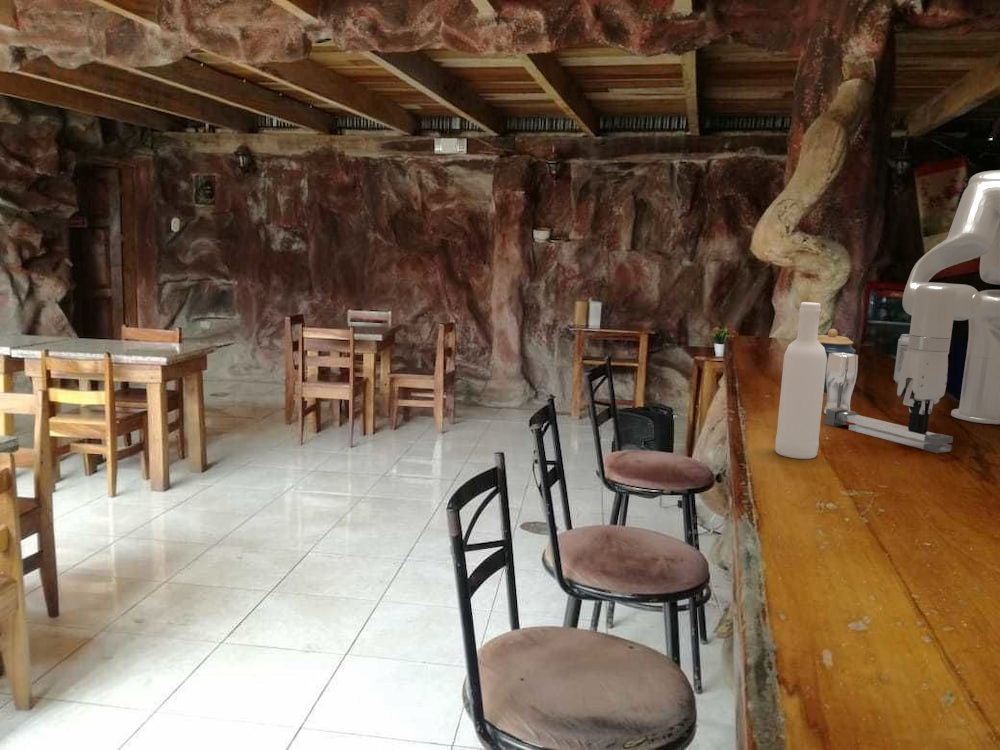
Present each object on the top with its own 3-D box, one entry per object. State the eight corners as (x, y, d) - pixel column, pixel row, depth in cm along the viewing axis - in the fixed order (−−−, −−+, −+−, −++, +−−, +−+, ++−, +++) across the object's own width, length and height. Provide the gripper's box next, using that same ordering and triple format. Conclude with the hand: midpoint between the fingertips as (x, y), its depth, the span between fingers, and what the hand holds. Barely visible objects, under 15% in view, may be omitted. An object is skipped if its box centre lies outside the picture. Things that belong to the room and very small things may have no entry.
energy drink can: (915, 383, 237) (921, 335, 235) (914, 386, 232) (920, 336, 230) (894, 380, 240) (899, 333, 238) (892, 383, 235) (898, 335, 233)
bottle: (790, 460, 148) (806, 304, 142) (766, 449, 155) (780, 301, 150) (826, 458, 150) (842, 304, 144) (800, 447, 157) (815, 301, 152)
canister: (793, 385, 228) (799, 326, 224) (829, 384, 231) (835, 326, 228) (823, 394, 215) (830, 331, 212) (861, 392, 219) (868, 331, 216)
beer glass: (855, 418, 186) (862, 357, 183) (825, 416, 187) (831, 355, 184) (848, 412, 192) (855, 353, 190) (819, 410, 194) (825, 351, 191)
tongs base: (824, 424, 179) (825, 409, 178) (837, 422, 181) (839, 407, 180) (937, 453, 155) (939, 436, 155) (951, 451, 158) (953, 434, 157)
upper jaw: (835, 421, 176) (836, 411, 175) (848, 419, 178) (849, 409, 178) (938, 447, 155) (939, 436, 155) (952, 445, 158) (953, 434, 157)
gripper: (932, 341, 165) (921, 424, 168) (889, 343, 157) (878, 430, 160) (968, 346, 158) (955, 432, 161) (924, 348, 151) (912, 439, 154)
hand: (917, 431), depth 161 cm, fingers closed
